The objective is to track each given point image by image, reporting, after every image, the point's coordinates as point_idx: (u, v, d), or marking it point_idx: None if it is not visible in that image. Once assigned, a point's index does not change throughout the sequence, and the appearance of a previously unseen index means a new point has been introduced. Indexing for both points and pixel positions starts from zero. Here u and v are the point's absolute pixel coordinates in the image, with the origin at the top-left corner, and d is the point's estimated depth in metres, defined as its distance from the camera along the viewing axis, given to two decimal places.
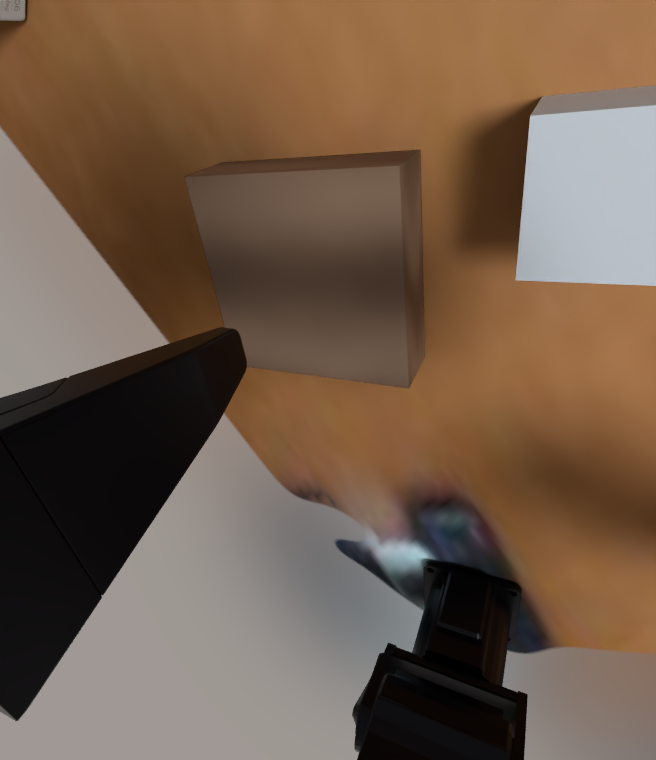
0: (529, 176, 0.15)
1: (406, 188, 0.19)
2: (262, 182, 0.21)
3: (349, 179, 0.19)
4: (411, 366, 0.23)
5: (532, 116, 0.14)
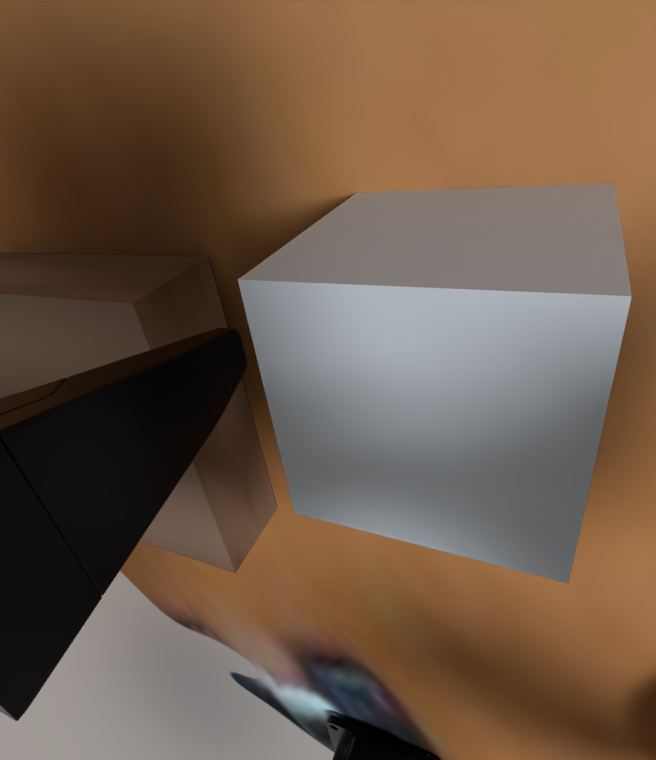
0: (267, 374, 0.08)
1: (169, 325, 0.12)
2: None
3: (77, 313, 0.12)
4: (238, 542, 0.17)
5: (241, 281, 0.07)
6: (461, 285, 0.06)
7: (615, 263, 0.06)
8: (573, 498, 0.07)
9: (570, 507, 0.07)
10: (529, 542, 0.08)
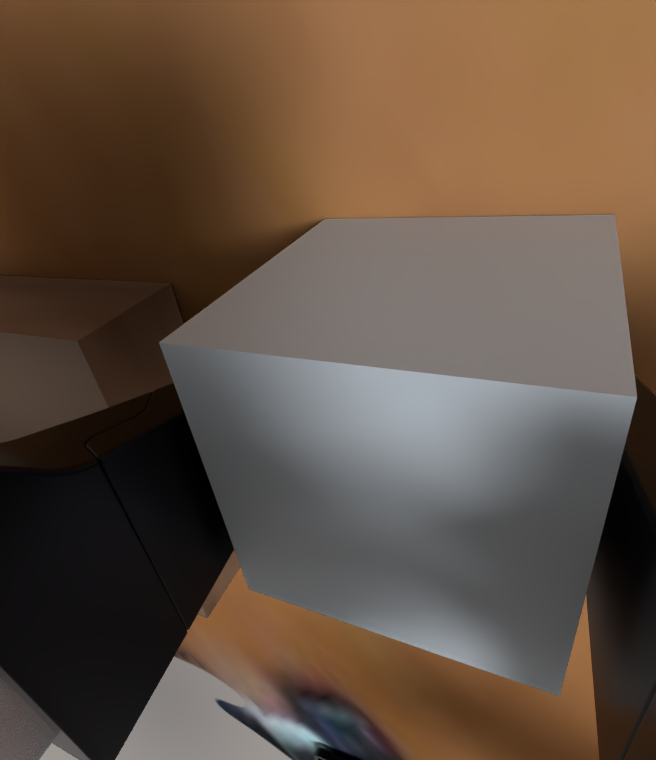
0: (204, 446, 0.07)
1: (124, 361, 0.11)
2: None
3: (21, 349, 0.11)
4: None
5: (163, 344, 0.06)
6: (421, 366, 0.05)
7: (616, 339, 0.05)
8: (564, 612, 0.06)
9: (560, 620, 0.06)
10: (513, 650, 0.06)
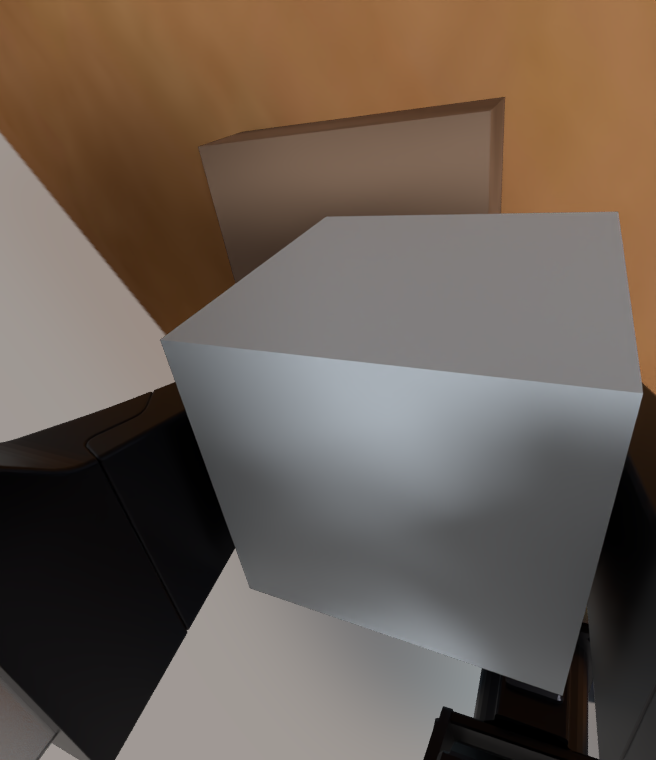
0: (206, 444, 0.07)
1: (494, 144, 0.14)
2: (299, 147, 0.16)
3: (418, 135, 0.14)
4: None
5: (164, 341, 0.06)
6: (424, 363, 0.05)
7: (620, 335, 0.05)
8: (567, 611, 0.06)
9: (564, 619, 0.06)
10: (516, 648, 0.06)
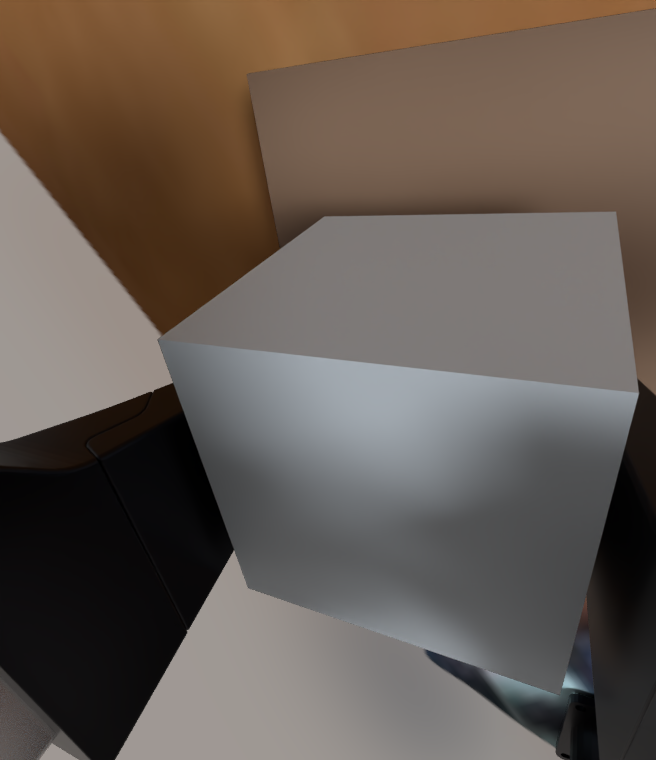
0: (203, 444, 0.07)
1: None
2: (425, 68, 0.09)
3: None
4: None
5: (161, 341, 0.06)
6: (420, 362, 0.05)
7: (617, 335, 0.05)
8: (564, 610, 0.06)
9: (561, 619, 0.06)
10: (513, 648, 0.06)
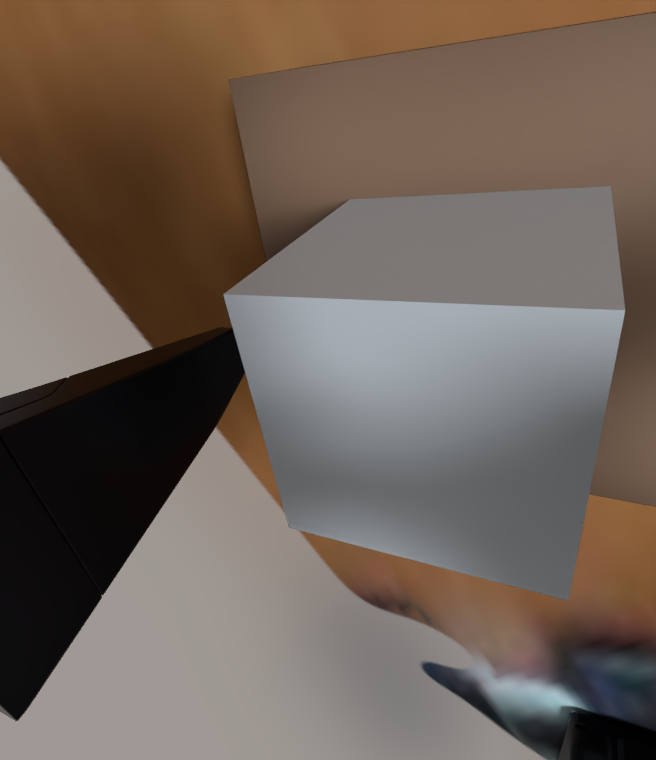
0: (257, 389, 0.08)
1: None
2: (415, 75, 0.09)
3: None
4: None
5: (227, 295, 0.07)
6: (449, 299, 0.06)
7: (609, 274, 0.06)
8: (570, 515, 0.07)
9: (569, 524, 0.07)
10: (527, 558, 0.07)
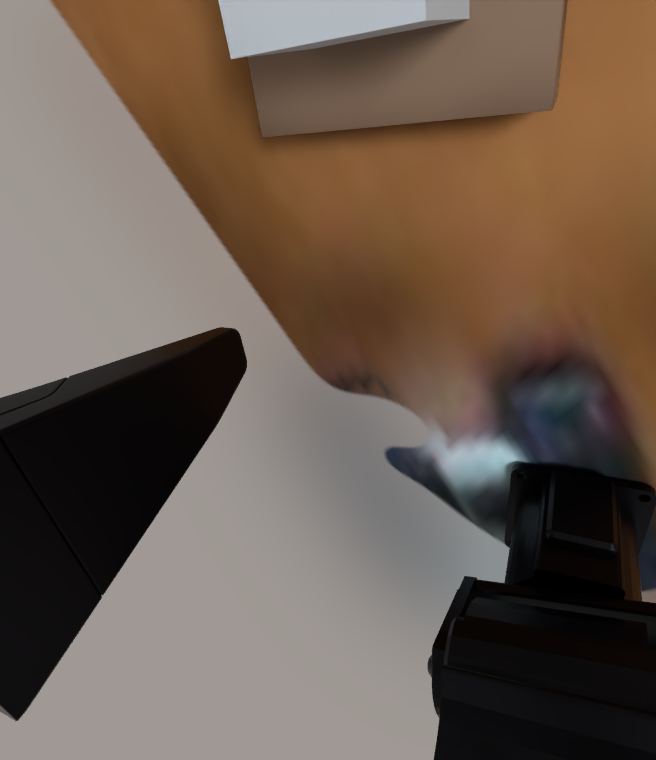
0: None
1: None
2: None
3: None
4: (556, 73, 0.14)
5: None
6: None
7: None
8: None
9: None
10: None
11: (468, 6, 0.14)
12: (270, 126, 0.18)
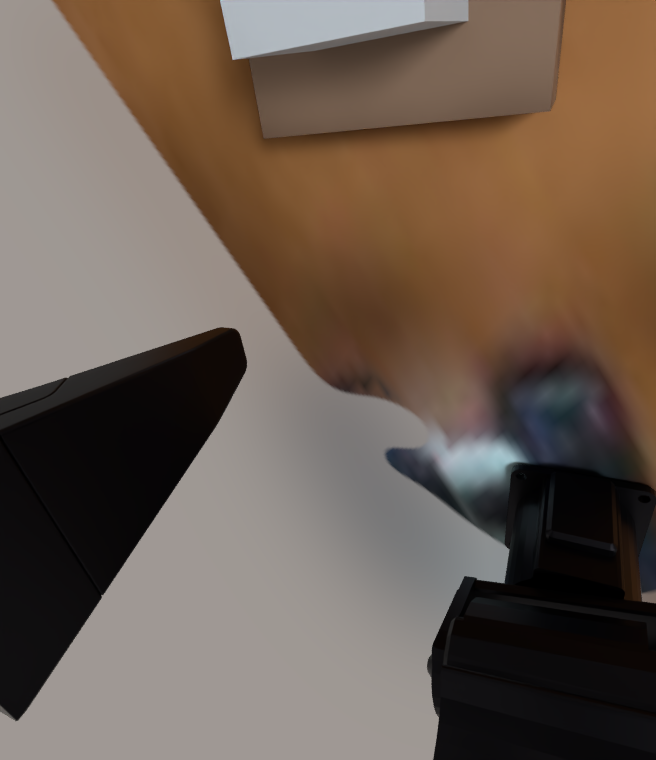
0: None
1: None
2: None
3: None
4: (554, 75, 0.15)
5: None
6: None
7: None
8: None
9: None
10: None
11: (467, 9, 0.14)
12: (271, 127, 0.18)
